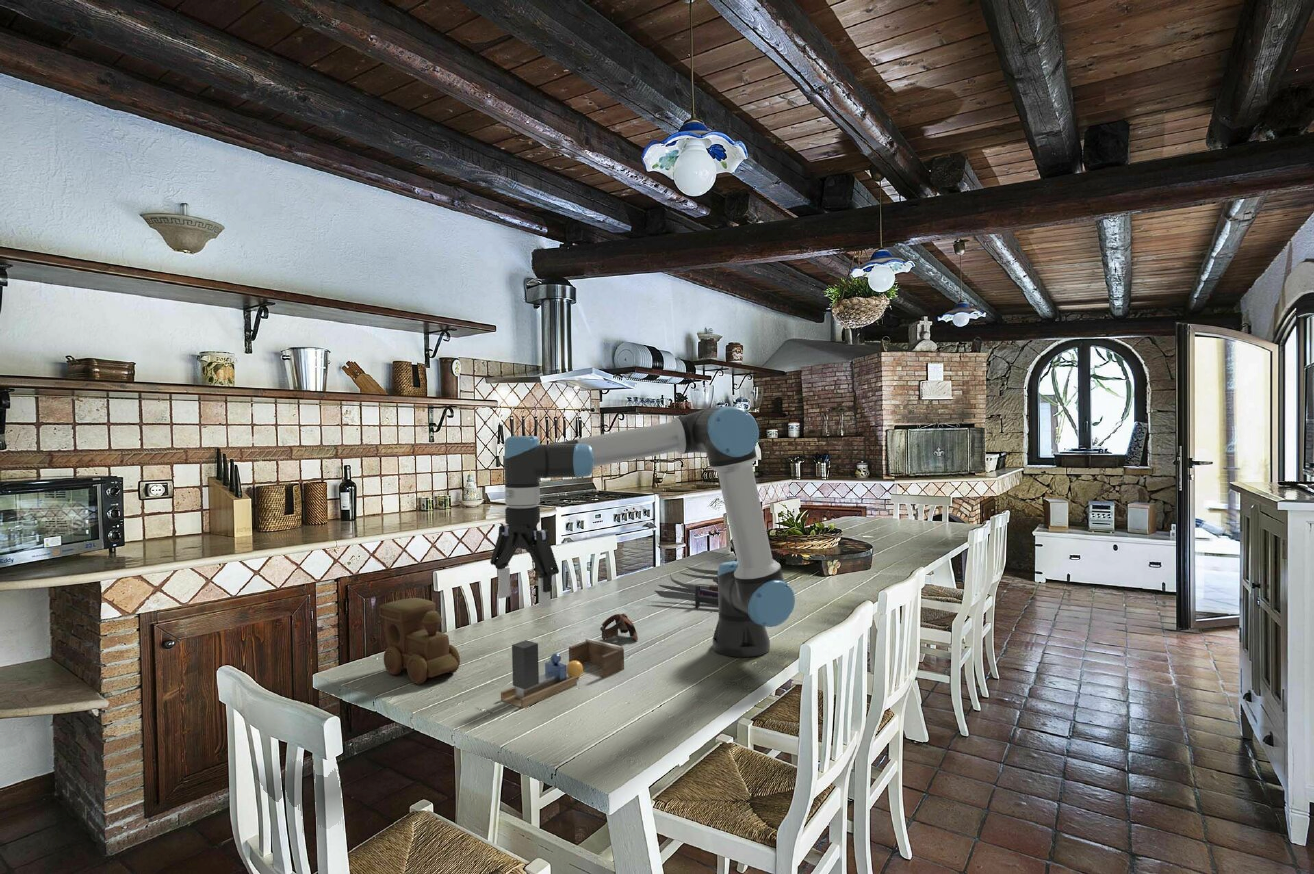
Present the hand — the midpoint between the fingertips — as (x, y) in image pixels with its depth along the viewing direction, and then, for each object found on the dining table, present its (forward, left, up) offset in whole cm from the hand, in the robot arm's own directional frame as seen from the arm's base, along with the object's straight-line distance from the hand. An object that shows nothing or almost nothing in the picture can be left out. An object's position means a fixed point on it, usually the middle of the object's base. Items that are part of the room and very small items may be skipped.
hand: (523, 601), depth 152 cm
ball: (-1, -15, -19) cm, 24 cm away
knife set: (+16, -98, -22) cm, 101 cm away
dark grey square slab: (0, -4, -21) cm, 22 cm away
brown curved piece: (+10, -43, -22) cm, 49 cm away
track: (0, -4, -21) cm, 22 cm away
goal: (0, -22, -21) cm, 30 cm away
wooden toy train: (+33, +5, -22) cm, 39 cm away
